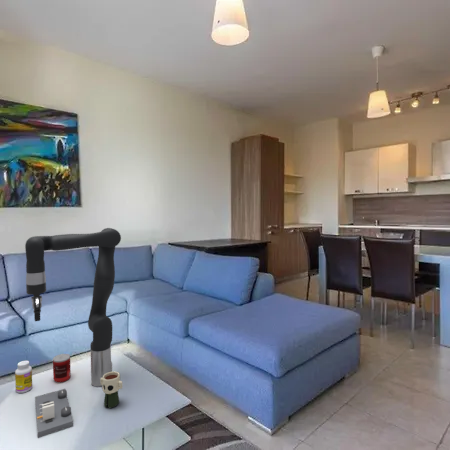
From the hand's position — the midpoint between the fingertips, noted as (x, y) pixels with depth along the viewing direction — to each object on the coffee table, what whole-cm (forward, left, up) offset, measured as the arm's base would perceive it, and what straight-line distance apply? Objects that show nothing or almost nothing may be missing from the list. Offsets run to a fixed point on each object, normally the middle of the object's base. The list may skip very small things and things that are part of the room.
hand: (37, 320), depth 143 cm
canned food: (-10, -11, -35) cm, 38 cm away
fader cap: (-2, +22, -32) cm, 39 cm away
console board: (-4, +16, -35) cm, 39 cm away
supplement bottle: (+6, -10, -35) cm, 37 cm away
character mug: (-26, +23, -35) cm, 49 cm away
